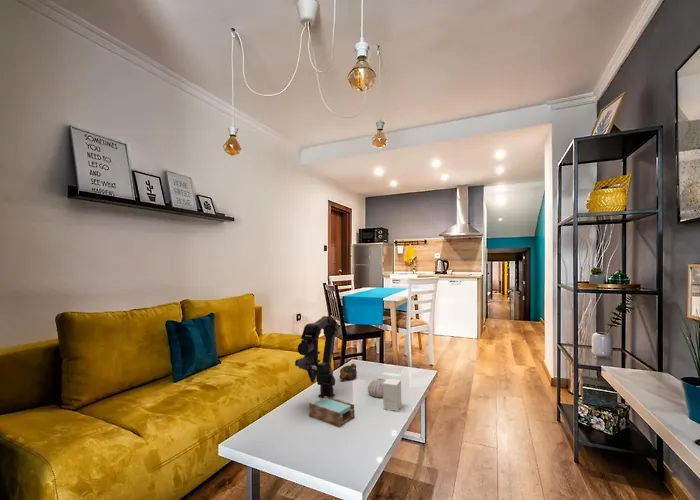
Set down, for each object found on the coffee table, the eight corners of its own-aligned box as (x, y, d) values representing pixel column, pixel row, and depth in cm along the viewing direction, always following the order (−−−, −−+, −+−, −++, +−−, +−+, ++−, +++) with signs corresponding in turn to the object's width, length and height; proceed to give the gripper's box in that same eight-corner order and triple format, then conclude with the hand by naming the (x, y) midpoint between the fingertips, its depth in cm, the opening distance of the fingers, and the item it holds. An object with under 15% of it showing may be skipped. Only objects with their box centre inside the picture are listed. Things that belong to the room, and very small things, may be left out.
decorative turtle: (361, 376, 205) (361, 363, 205) (348, 385, 192) (348, 372, 192) (348, 372, 210) (348, 360, 210) (335, 381, 198) (335, 368, 197)
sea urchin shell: (389, 400, 168) (389, 384, 168) (364, 397, 172) (364, 382, 172) (394, 391, 180) (394, 376, 181) (371, 388, 184) (370, 374, 185)
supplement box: (401, 405, 161) (401, 380, 161) (397, 412, 154) (397, 385, 155) (387, 403, 164) (387, 378, 164) (382, 409, 157) (382, 382, 158)
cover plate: (312, 407, 151) (312, 403, 151) (324, 400, 158) (324, 397, 158) (339, 416, 142) (339, 412, 142) (351, 409, 148) (350, 405, 149)
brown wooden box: (309, 416, 151) (309, 403, 151) (324, 407, 159) (324, 395, 160) (339, 427, 140) (339, 413, 140) (354, 417, 149) (354, 404, 149)
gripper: (286, 350, 158) (286, 383, 157) (315, 356, 147) (315, 391, 146) (302, 346, 167) (302, 377, 166) (331, 351, 156) (331, 384, 155)
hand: (312, 382), depth 158 cm, fingers closed
